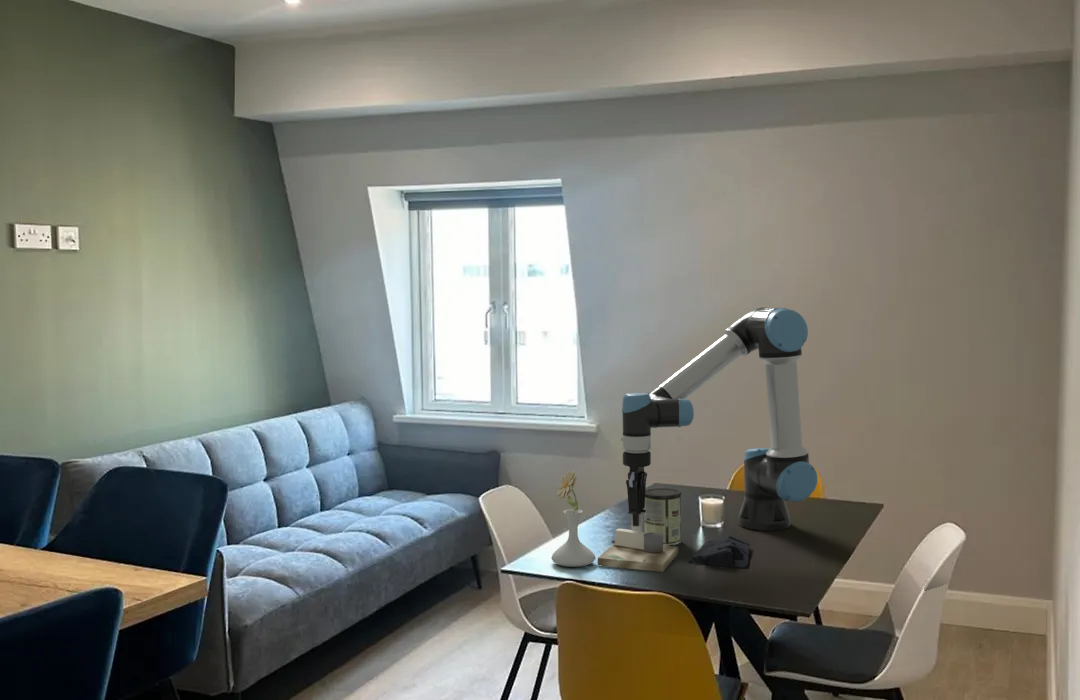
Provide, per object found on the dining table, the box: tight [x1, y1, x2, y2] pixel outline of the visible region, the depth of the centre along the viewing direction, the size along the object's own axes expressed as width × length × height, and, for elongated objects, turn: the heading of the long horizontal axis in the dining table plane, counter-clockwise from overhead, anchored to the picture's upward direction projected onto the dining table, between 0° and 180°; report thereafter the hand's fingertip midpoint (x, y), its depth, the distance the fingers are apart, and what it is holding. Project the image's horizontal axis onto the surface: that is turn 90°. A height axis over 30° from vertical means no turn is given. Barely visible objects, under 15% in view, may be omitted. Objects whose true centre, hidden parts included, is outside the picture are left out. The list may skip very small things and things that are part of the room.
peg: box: [611, 528, 663, 553], centre depth 263 cm, size 15×5×4 cm, turn 54°
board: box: [597, 543, 679, 573], centre depth 260 cm, size 17×18×2 cm
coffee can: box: [643, 487, 682, 546], centre depth 278 cm, size 10×10×14 cm
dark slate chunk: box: [687, 535, 751, 569], centre depth 263 cm, size 15×22×5 cm
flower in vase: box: [551, 470, 597, 568], centre depth 255 cm, size 13×11×25 cm
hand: (636, 536), depth 270 cm, fingers closed
